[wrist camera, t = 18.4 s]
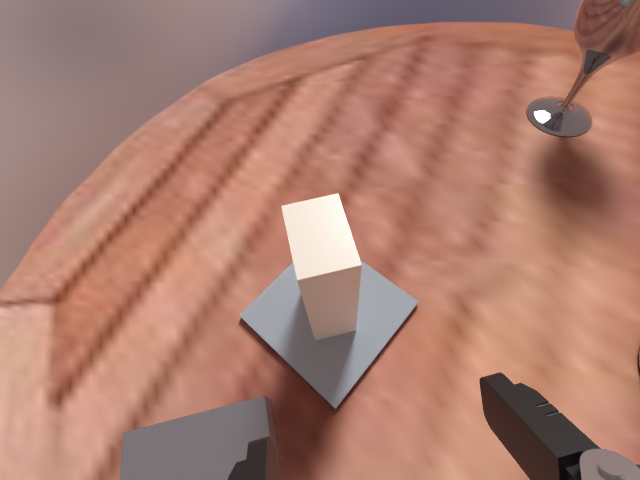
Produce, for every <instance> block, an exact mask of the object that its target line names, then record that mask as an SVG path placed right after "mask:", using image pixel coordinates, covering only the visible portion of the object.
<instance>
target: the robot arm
mask: <svg viewBox="0 0 640 480" xmlns="http://www.w3.org/2000/svg"><path fill="white" fill-rule="evenodd" d="M639 366H640V350H639ZM480 388H481V396H482V403H483V411H484V415H485V418H486V420H487V422H488V424H489V426H490V428H491V429H492V431H493V432H494V433H495V435H496V436H497V437H498V439H499V440H500V441H501V442H502V444H503V445H504V446H505V448H506V449H507V450H508V451H509V453H510V454H511V455H512V457H513V458H514V459H515V460H516V462H517V463H518V464H519V466H520V467H521V468H522V470H523V471H524V472H525V473H526V475H527V476H528V477H529V479H530V480H640V465H637V464H634V463H633V462H632V461H631V460H629V459H628V458H626V457H624V456H622V455H620V454H618V453H616V452H613V451H610V450H605V449H600V448H599V447H598V446H597V445H596V444H595V443H594V442H592V441H591V440H590V439H589V438H588V437H587V436H586V435H585V434H584V433H583V432H581V431H580V430H579V429H578V428H577V427H576V426H575V425H574V424H573V423H572V422H570V421H569V420H568V419H567V418H566V417H565V416H564V415H563V414H562V413H559V411H558V410H557V409H556V408H555V407H554V406H553V405H552V404H549V402H548V401H547V400H546V399H545V398H544V397H543V396H542V395H541V394H540V393H538V392H537V391H536V390H534V389H532V388H530V387H528V386H526V385H524V384H522V383H519V384H515V385H514V384H513V383H512V382H511V381H510V380H509V379H508V378H507V377H506V376H505V375H504V374H502V373H496V374H492V375H489V376H485V377H482V378H480ZM228 480H283V477H282V472H281V468H280V465H279V462H278V459H277V456H276V453H275V450H274V447H273V443H272V440H271V438H270V437H269V436H268V437H264V438H261V439H257V440H254V441H250V442H249V443H248V449H247V457H246V460H243V461H239V462H236V464H235V466H234V468H233V469H232V471H231V473H230V475H229V477H228Z"/></svg>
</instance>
